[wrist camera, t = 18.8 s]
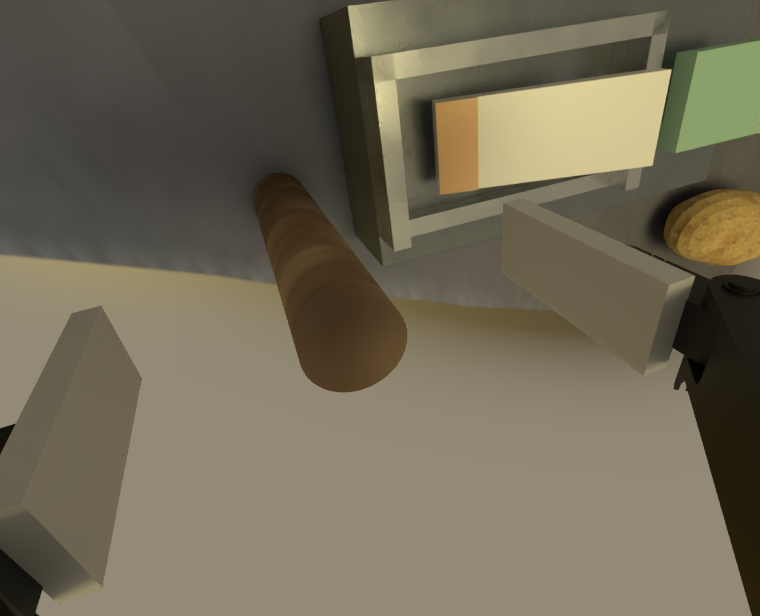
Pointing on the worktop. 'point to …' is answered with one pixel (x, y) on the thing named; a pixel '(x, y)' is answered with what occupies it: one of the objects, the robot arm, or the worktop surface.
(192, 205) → the worktop surface
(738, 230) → the potato
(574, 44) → the grey storage bin
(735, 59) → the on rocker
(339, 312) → the brown rounded rod
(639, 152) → the rocker
